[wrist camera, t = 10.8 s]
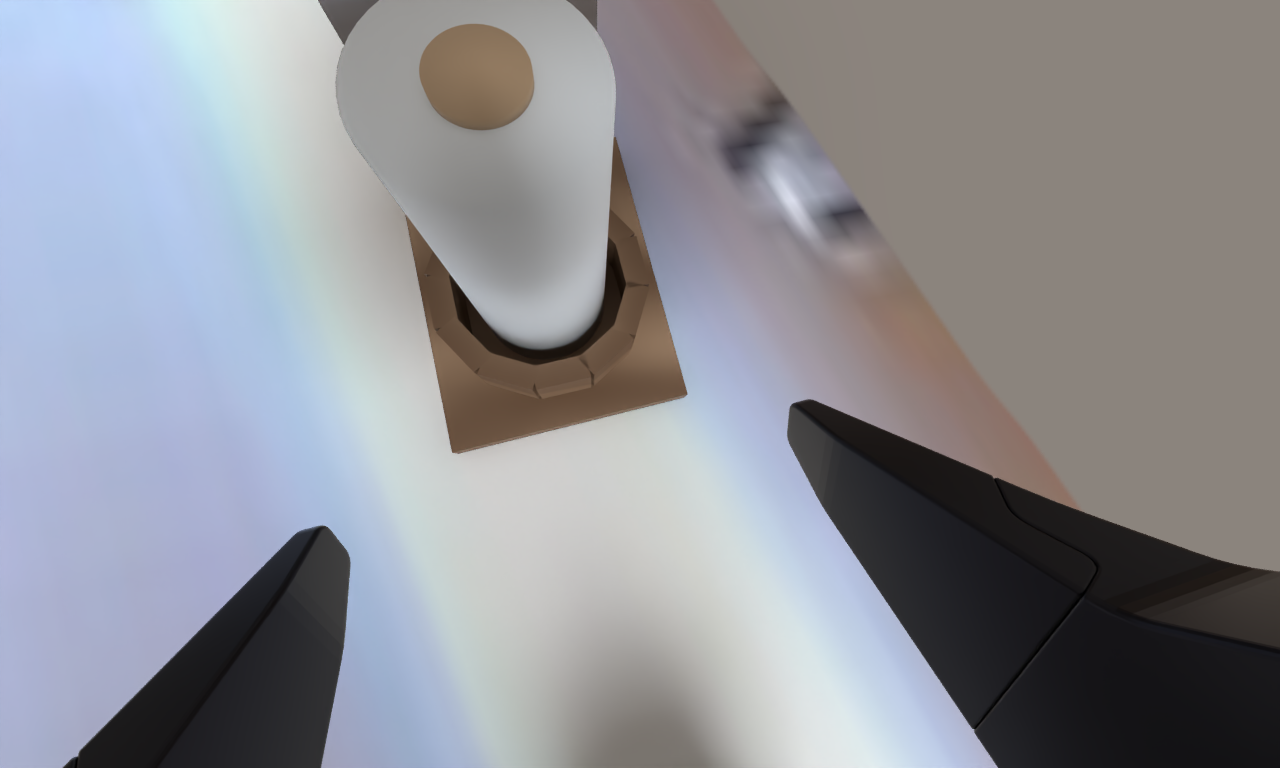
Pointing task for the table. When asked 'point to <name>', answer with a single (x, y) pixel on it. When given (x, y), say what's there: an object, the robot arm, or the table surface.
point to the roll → (494, 152)
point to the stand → (545, 388)
